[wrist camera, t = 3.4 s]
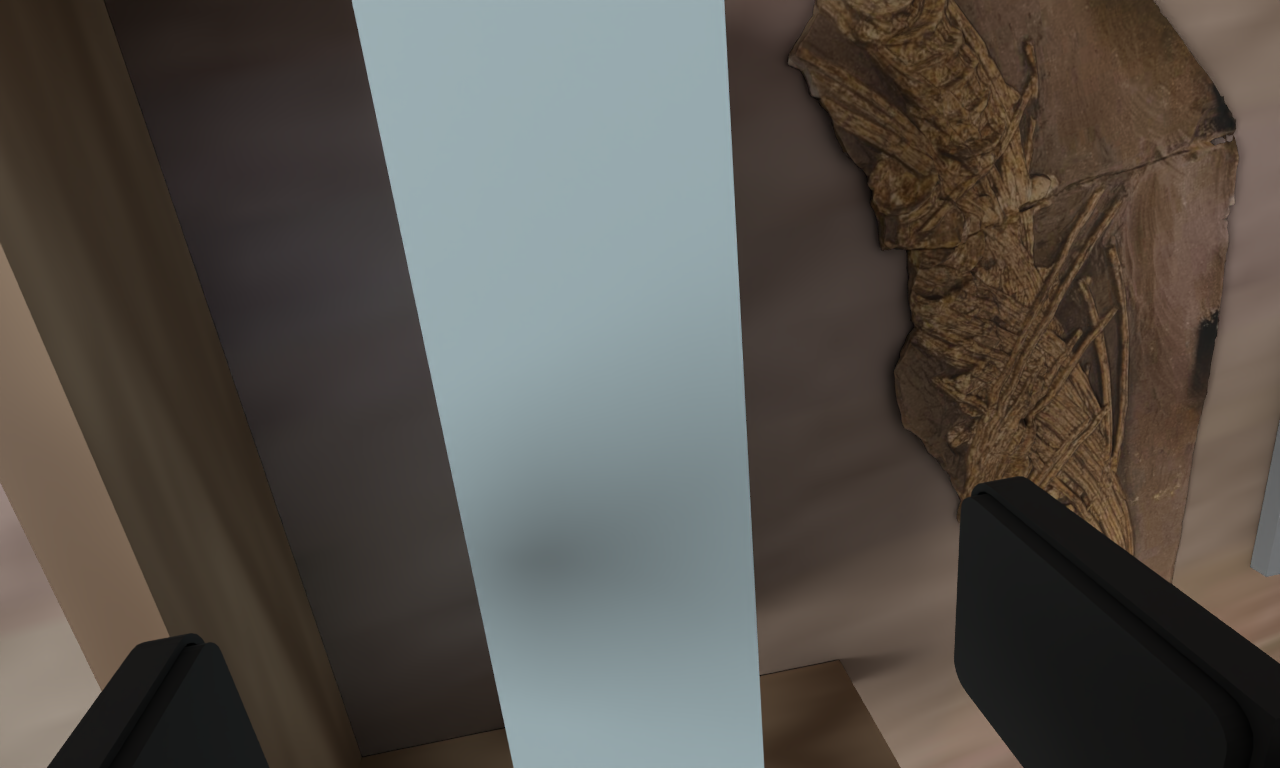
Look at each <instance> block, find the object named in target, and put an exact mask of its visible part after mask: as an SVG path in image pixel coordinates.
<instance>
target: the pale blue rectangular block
mask: <svg viewBox="0 0 1280 768" xmlns="http://www.w3.org/2000/svg"><path fill="white" fill-rule="evenodd" d="M352 4H353V8H354V13H355V18H356V23H357V27H358V32H359V37H360V42H361V46H362V51H363V56H364V61H365V65H366V70H367V75H368V80H369V84H370V89H371V94H372V98H373V103H374V108H375V113H376V117H377V122H378V127H379V132H380V136H381V141H382V146H383V151H384V155H385V160H386V165H387V170H388V174H389V179H390V184H391V189H392V193H393V198H394V203H395V208H396V212H397V217H398V222H399V226H400V231H401V236H402V241H403V245H404V250H405V255H406V260H407V264H408V269H409V274H410V279H411V283H412V288H413V293H414V298H415V302H416V307H417V312H418V317H419V321H420V326H421V331H422V335H423V340H424V345H425V350H426V354H427V359H428V364H429V369H430V373H431V378H432V383H433V388H434V392H435V397H436V402H437V407H438V411H439V416H440V421H441V426H442V430H443V435H444V440H445V445H446V449H447V454H448V459H449V463H450V468H451V473H452V478H453V482H454V487H455V492H456V497H457V501H458V506H459V511H460V516H461V520H462V525H463V530H464V535H465V539H466V544H467V549H468V554H469V558H470V563H471V568H472V572H473V577H474V582H475V587H476V591H477V596H478V601H479V606H480V610H481V615H482V620H483V625H484V629H485V634H486V639H487V644H488V648H489V653H490V658H491V663H492V667H493V672H494V677H495V682H496V686H497V691H498V696H499V700H500V705H501V710H502V715H503V719H504V724H505V729H506V734H507V738H508V743H509V748H510V753H511V757H512V762H513V767H514V768H764V754H763V735H762V715H761V696H760V677H759V658H758V639H757V620H756V600H755V581H754V562H753V543H752V524H751V504H750V485H749V466H748V447H747V428H746V408H745V389H744V370H743V351H742V332H741V312H740V293H739V274H738V255H737V236H736V217H735V197H734V178H733V159H732V140H731V121H730V101H729V82H728V63H727V44H726V25H725V5H724V0H352Z"/></svg>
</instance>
